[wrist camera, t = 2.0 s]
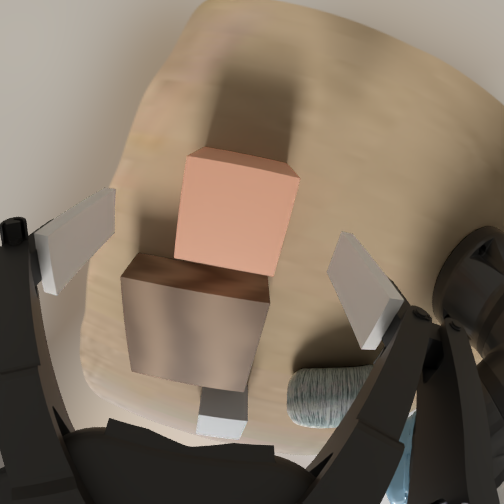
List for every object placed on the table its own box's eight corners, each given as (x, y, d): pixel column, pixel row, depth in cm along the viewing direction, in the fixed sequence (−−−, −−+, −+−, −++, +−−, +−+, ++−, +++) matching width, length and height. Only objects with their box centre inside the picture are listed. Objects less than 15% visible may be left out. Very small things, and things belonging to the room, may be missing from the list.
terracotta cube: (286, 163, 23) (300, 178, 17) (267, 237, 26) (273, 276, 20) (205, 146, 22) (186, 155, 16) (192, 222, 25) (173, 257, 19)
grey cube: (247, 385, 35) (247, 421, 30) (239, 406, 38) (239, 439, 32) (203, 378, 35) (198, 414, 29) (200, 400, 37) (195, 433, 32)
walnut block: (267, 273, 28) (270, 303, 23) (244, 360, 33) (243, 392, 29) (139, 251, 27) (120, 276, 22) (143, 342, 32) (131, 371, 28)
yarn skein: (406, 359, 29) (395, 435, 23) (374, 377, 37) (362, 439, 31) (307, 335, 31) (284, 417, 25) (291, 358, 39) (272, 421, 33)
